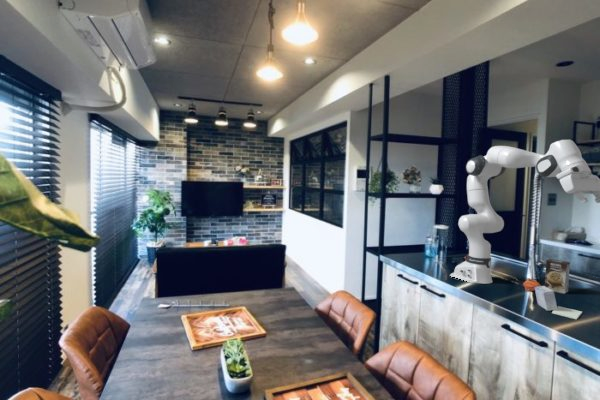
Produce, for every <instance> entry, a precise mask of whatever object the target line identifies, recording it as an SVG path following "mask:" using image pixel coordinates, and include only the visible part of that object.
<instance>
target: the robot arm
mask: <svg viewBox="0 0 600 400" xmlns="http://www.w3.org/2000/svg"><path fill="white" fill-rule="evenodd" d="M534 167H535V169H536V172H537V174H538V175H540V177H543V178H556V179H558V180H559V183H560V185H561V187H562V189H563V190H564V192H565V193H566V194H569V195H571V194H574V196H575V197H576V198H577V199H578V200H579V202H580V203H581V204H587V203H588V199H587V197H585V196H584V194H589V195H591V194H592V195H593V196H594V201H595V203H597V204H598V203H599V204H600V178H599V176H598V175H594V174H593V173H592V170H591V168H590V167H589V165H588V163H587V162H586V160H585V159H584V158H583V157H582V153H581V150H580V148H579V147H578V146H577V144H576V143H575V142H574V141H573V140H571V139H569V138H567V139H566V138H565V139H558V140H555V141H554V142H552V143H551V144H550V145H549V149H548V150H547V152H546V153H545V154H543V153H537V152H532V151H530V150H525V149H521V148H518V147H514V146H509V145H494V146H491V147H490V148H489V149H488V150H487V152H486V155H484V156H483V155H481V154H479V155H478V156H475V157H471V158H470V159H468V160H467V162H466V164H465V171H466V173H467V174H468V176H467V178H466V195H467V204H468V206H469V207H471V208H472V209H474V211H475V212H476V213H475V214H474V213H469V214H464V215H461V216H460V217H459V219H458V223H457V225H458V227H459V230H460V231H461V232H463V233H464V235H465V236H466V238H467V240H468V254H467V255H465V256H464V259H465V261H463V262H461V263H459V264H457V265H456V266H455V268H454V271H453V272H452V273H450V274H449V277H450V276H451V277H450V278H452V277H455V278H454V279H456V278H458V279H457V280H459V279H461V280H460V281H463V280H464V282H466V281H467V282H466V283H469V284H470V283H471V284H484V285H485V284H492V283H494V282H493V279H492V272H491V268H492V267H491V266H492V257H491V252H492V251H491V250H492V249H491V248H492V244H491V243H490V242H489V241H488V240H486V239H485V237H484V234H494V233H498V232H501V231H502V230H503V229H504V226H505V221H504V219H503V217H502V216H500V215H499V214H497V212H496V211H495V210H494V208H493V207H492V205H491V201H490V196H489V195H490V194H489V188H488V180H495V178H498V177H500V176H502V175H503V174H504V173H505V171H506V169H521V168H534Z"/></svg>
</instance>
